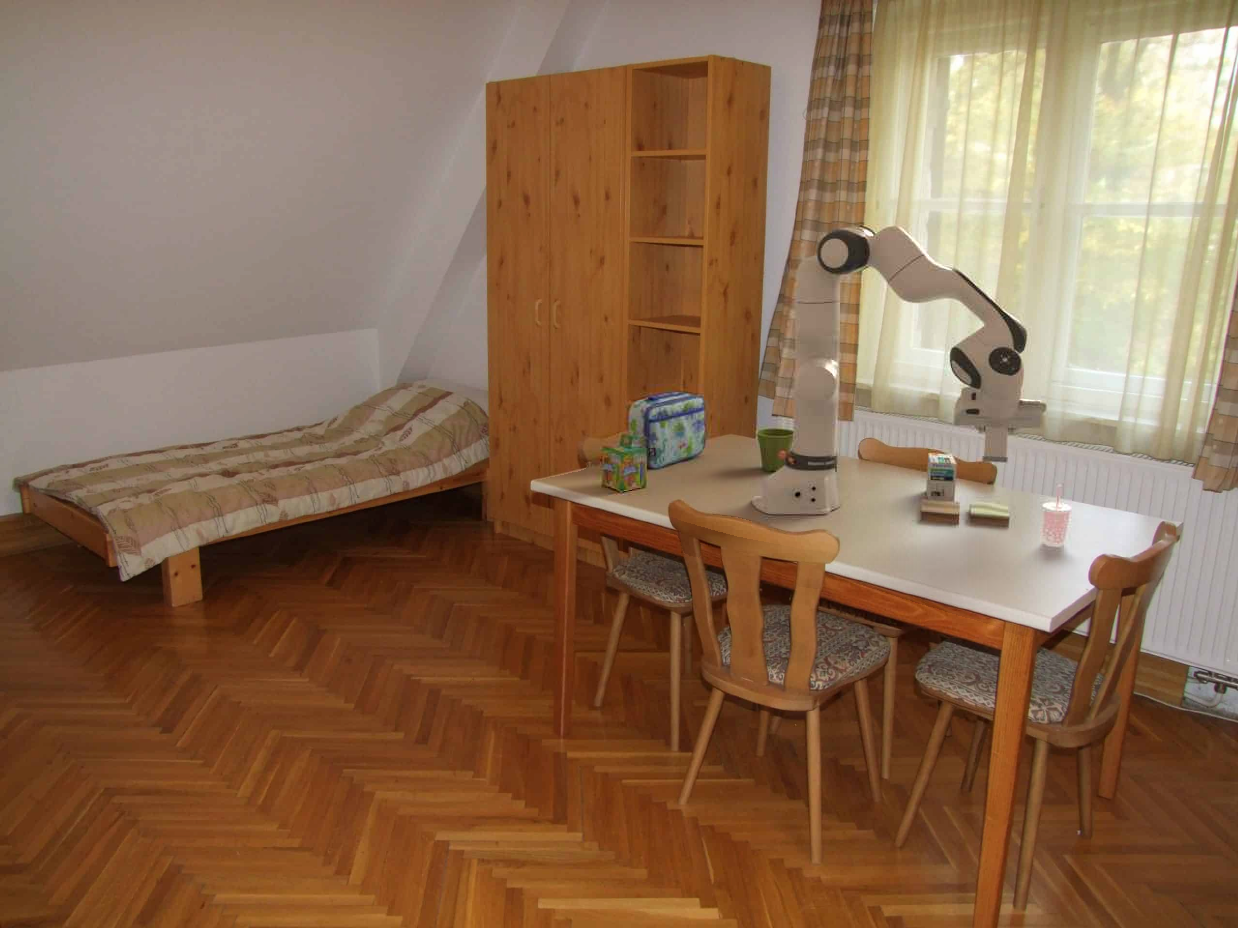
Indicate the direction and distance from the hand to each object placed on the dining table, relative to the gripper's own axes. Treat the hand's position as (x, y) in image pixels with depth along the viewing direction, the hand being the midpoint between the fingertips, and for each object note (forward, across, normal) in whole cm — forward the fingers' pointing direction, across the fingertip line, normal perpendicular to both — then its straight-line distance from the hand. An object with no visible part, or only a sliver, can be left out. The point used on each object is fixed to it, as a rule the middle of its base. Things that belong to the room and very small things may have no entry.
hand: (995, 431), depth 254 cm
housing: (+3, 0, +7) cm, 7 cm away
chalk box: (+15, +96, +14) cm, 98 cm away
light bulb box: (+27, +12, +4) cm, 30 cm away
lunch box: (+37, +92, -7) cm, 99 cm away
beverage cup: (+4, -14, +28) cm, 31 cm away
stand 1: (+14, +12, +17) cm, 25 cm away
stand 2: (+15, 0, +16) cm, 22 cm away
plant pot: (+37, +59, -7) cm, 70 cm away
